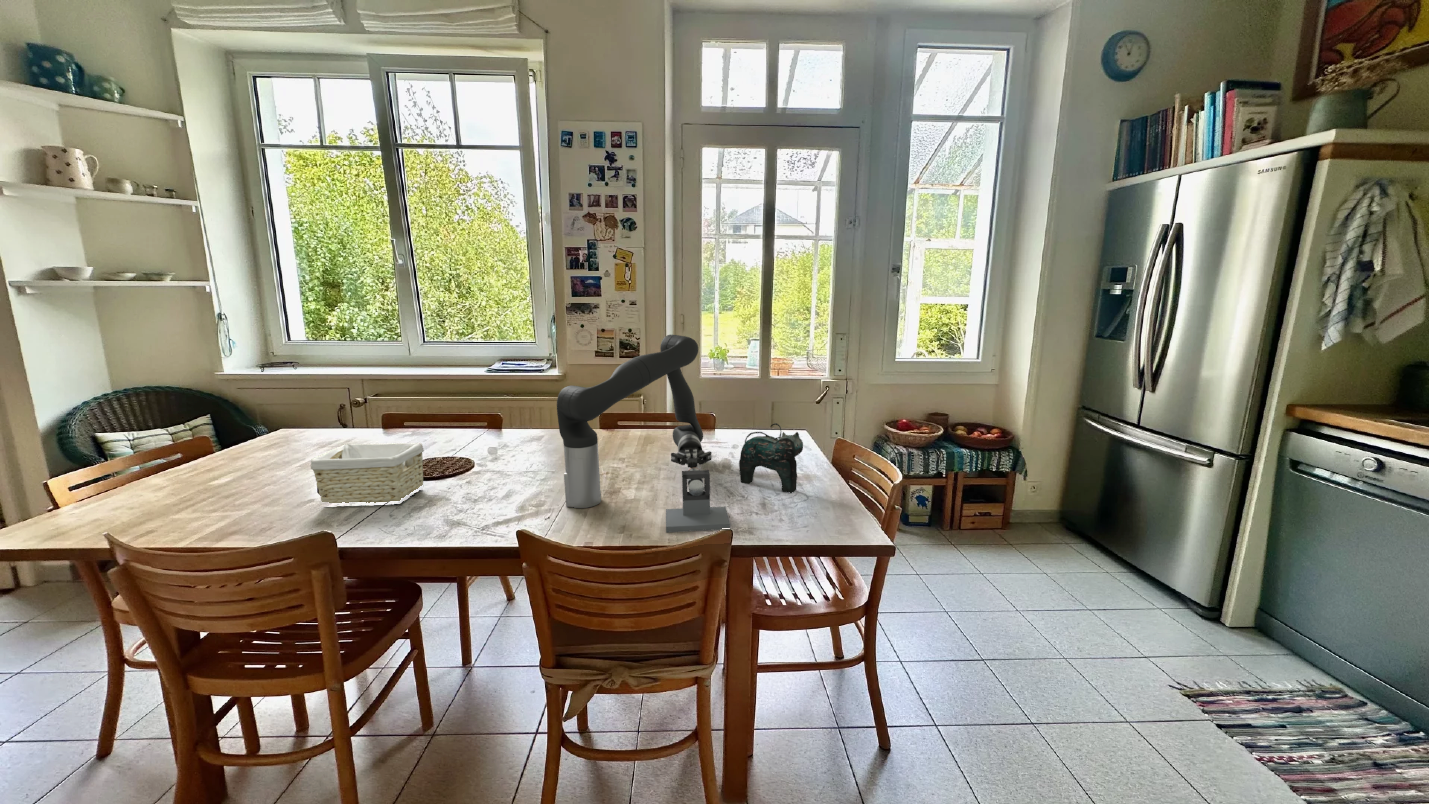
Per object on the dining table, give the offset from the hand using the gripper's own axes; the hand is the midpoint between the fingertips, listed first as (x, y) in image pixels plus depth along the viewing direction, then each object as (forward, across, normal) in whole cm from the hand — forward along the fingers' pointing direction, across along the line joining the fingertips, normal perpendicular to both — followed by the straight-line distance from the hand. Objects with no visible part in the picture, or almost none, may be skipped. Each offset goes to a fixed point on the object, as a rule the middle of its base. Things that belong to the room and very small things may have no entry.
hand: (692, 465), depth 155 cm
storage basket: (-9, -93, +9) cm, 93 cm away
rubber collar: (+16, 0, +4) cm, 16 cm away
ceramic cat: (-4, +23, +9) cm, 25 cm away
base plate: (+19, 0, +9) cm, 21 cm away
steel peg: (+13, 0, +2) cm, 13 cm away
